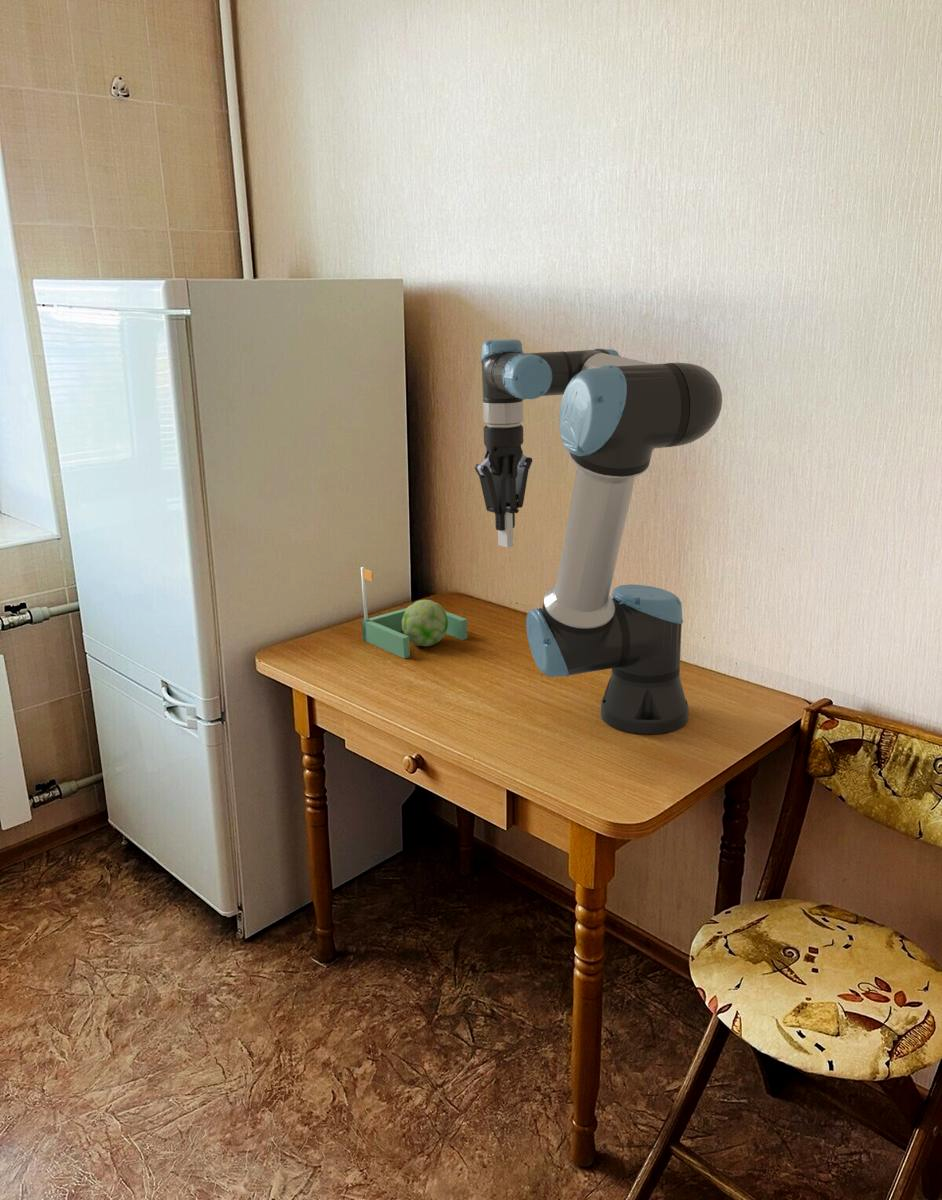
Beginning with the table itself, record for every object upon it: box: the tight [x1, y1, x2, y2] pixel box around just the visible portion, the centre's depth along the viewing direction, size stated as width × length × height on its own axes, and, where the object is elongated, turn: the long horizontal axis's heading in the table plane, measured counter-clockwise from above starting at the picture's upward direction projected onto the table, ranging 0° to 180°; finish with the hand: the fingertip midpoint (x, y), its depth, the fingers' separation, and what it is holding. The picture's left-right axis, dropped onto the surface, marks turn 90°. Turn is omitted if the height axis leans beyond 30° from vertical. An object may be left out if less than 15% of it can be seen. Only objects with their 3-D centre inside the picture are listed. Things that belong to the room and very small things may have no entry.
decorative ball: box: [402, 599, 448, 647], centre depth 203 cm, size 10×10×10 cm
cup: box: [360, 566, 468, 660], centre depth 206 cm, size 16×17×16 cm
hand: (505, 545), depth 187 cm, fingers closed
